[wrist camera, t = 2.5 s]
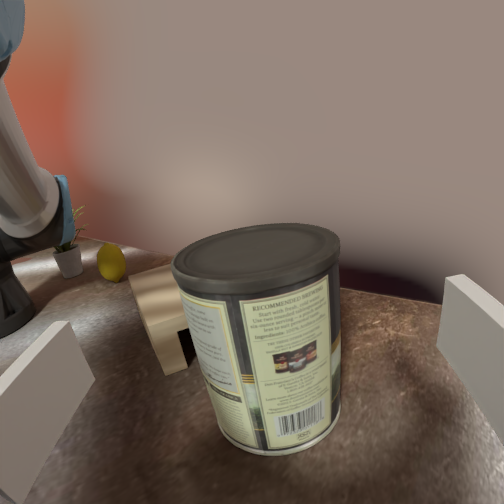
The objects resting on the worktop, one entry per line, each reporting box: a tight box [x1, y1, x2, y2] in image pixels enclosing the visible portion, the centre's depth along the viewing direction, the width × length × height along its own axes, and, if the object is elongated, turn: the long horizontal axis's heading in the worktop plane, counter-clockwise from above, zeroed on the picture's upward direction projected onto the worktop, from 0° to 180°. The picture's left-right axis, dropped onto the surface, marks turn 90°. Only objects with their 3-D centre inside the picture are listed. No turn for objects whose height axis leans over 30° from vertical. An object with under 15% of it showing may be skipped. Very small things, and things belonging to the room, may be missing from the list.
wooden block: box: [128, 264, 189, 376], centre depth 39 cm, size 16×16×6 cm
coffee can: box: [170, 223, 341, 456], centre depth 22 cm, size 10×10×14 cm
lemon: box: [97, 243, 126, 283], centre depth 56 cm, size 6×6×8 cm
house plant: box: [53, 207, 84, 278], centre depth 64 cm, size 14×14×16 cm
